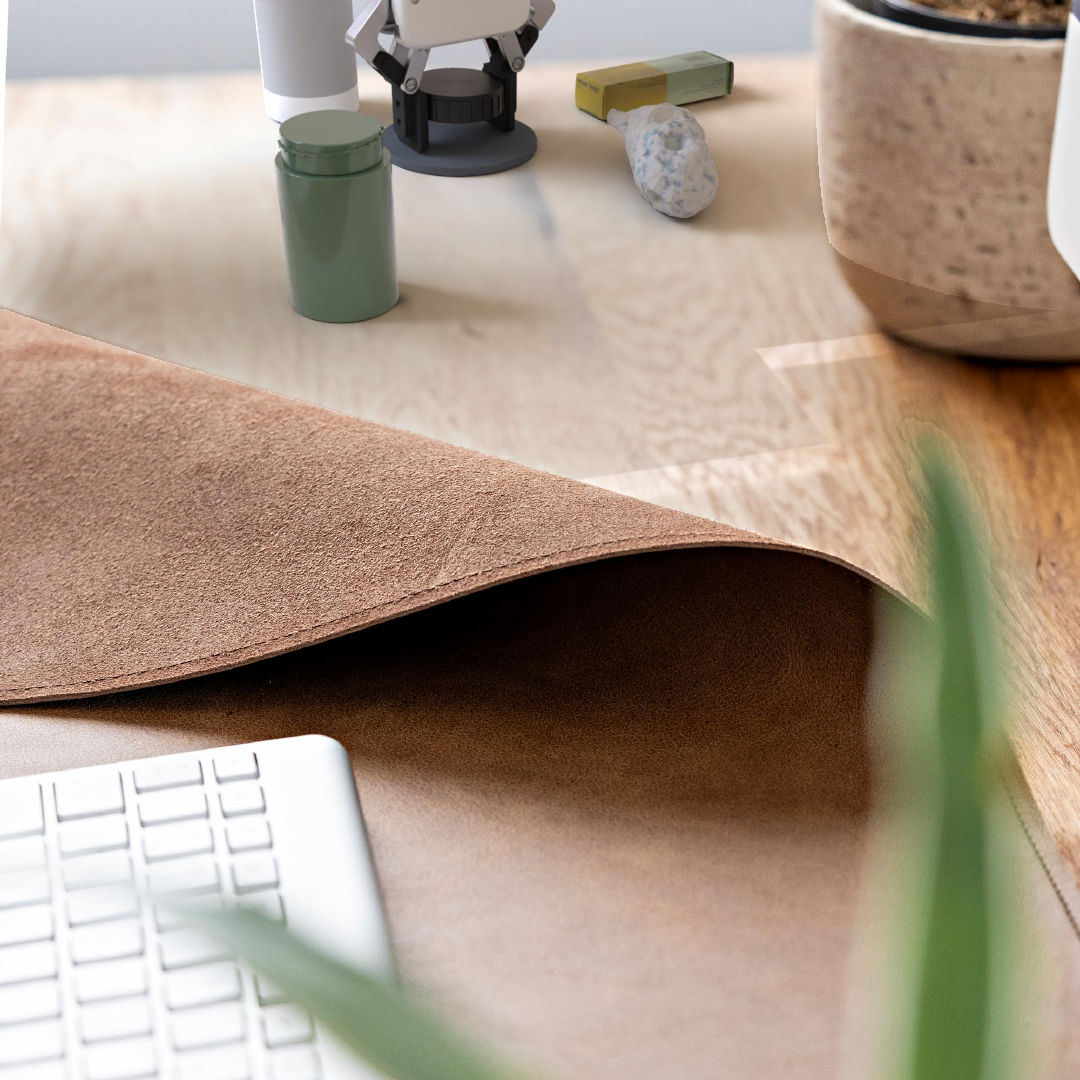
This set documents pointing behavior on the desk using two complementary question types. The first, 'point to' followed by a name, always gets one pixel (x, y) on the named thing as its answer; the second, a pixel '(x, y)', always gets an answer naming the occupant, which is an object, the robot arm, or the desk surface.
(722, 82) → the medication box
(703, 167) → the decorative stone
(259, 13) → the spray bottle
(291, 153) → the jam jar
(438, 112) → the jar lid
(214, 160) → the desk surface
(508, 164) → the coaster
